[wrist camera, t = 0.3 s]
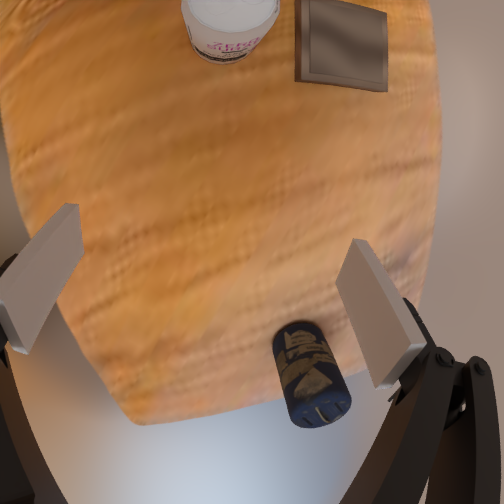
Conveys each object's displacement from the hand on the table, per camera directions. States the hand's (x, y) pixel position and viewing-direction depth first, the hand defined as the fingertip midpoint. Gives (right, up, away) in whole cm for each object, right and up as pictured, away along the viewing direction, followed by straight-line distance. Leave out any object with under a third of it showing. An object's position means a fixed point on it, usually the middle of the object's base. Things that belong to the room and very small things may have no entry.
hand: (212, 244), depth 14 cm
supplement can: (-2, +26, +17) cm, 31 cm away
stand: (+13, +27, +18) cm, 35 cm away
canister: (+10, -16, +40) cm, 44 cm away
